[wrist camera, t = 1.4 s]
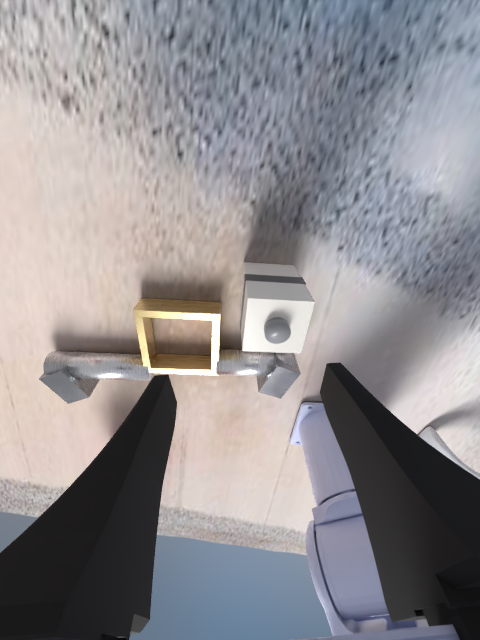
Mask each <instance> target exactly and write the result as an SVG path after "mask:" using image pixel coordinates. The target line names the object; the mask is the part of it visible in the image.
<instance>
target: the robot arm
mask: <svg viewBox="0 0 480 640" xmlns="http://www.w3.org/2000/svg"><path fill="white" fill-rule="evenodd" d="M320 394H321V398H322V401H323V403H312V402H304V403H302V404H301V406H300V410H299V413H298V416H297V419H296V422H295V425H294V428H293V431H292V434H291V438H290V443H291V444H293V445H302V449H303V453H304V457H305V461H306V465H307V469H308V473H309V477H310V481H311V486H312V490H313V494H314V498H315V502H316V506H317V507H315V508H312V511H313V516H314V520H313V521H310V522H309V525H308V529H307V532H306V551H307V557H308V563H309V568H310V572H311V576H312V579H313V583H314V586H315V589H316V592H317V594H318V597H319V600H320V602H321V604H322V606H323V607H324V610H325V613H326V616H327V619H328V622H329V625H330V628H331V632H332V635H333V636H326V637H315V638H305V639H294V640H480V479H478V478H477V477H475V476H474V475H472V474H471V473H469V472H468V471H466V470H465V469H463V468H462V467H461V466H459V465H458V464H456V463H455V462H453V461H452V460H451V459H449V458H448V457H446V456H445V455H443V454H442V453H441V452H439V451H438V450H436V449H435V448H434V447H432V446H431V445H430V444H428V443H427V442H426V441H425V440H423V439H422V438H421V437H419V436H418V435H417V434H416V433H414V432H413V431H412V430H411V429H409V428H408V427H407V426H406V425H405V424H404V423H402V422H401V421H400V420H399V419H398V418H397V417H395V416H394V415H393V414H392V413H391V412H390V411H389V410H388V409H387V408H385V407H384V406H383V405H382V404H381V403H380V402H379V401H378V400H377V399H376V398H375V397H374V396H373V395H372V394H371V393H370V392H369V391H368V390H367V389H366V388H365V387H364V386H363V385H362V384H361V383H360V382H359V381H358V380H357V379H356V378H355V377H354V376H353V375H352V374H351V373H350V372H349V371H348V370H347V369H346V368H345V367H344V366H343V365H342V364H341V363H328V364H327V365H326V369H325V374H324V378H323V382H322V386H321V390H320ZM176 408H177V401H176V398H175V395H174V391H173V388H172V385H171V382H170V379H169V375H157V376H154V377H153V378H152V380H151V381H150V383H149V385H148V386H147V388H146V389H145V391H144V393H143V394H142V396H141V397H140V399H139V400H138V402H137V403H136V405H135V406H134V408H133V409H132V411H131V412H130V414H129V415H128V416H127V418H126V419H125V421H124V422H123V423H122V425H121V426H120V427H119V429H118V430H117V431H116V433H115V434H114V435H113V437H112V438H111V439H110V441H109V442H108V443H107V445H106V446H105V447H104V448H103V450H102V451H101V452H100V453H99V454H98V456H97V457H96V458H95V459H94V460H93V461H92V463H91V464H90V465H89V466H88V467H87V468H86V469H85V471H84V472H83V473H82V474H81V475H80V476H79V477H78V478H77V479H76V480H75V481H74V483H73V484H72V485H71V486H70V487H69V488H68V489H67V490H66V491H65V492H64V493H63V494H62V495H61V496H60V497H59V498H58V499H57V500H56V501H55V502H54V503H53V504H52V505H51V506H50V507H49V508H48V509H47V510H46V511H45V512H44V513H43V514H42V515H41V516H40V517H39V518H38V519H37V520H36V521H35V522H34V523H33V524H32V525H31V526H30V527H28V528H27V529H26V530H25V531H24V532H23V533H22V534H21V535H20V536H19V537H18V538H17V539H16V540H14V541H13V542H12V543H11V544H10V545H9V546H7V548H5V549H4V550H3V551H2V552H1V553H0V640H129V637H130V634H133V633H140V632H141V631H142V630H143V628H144V627H145V626H146V624H147V623H148V621H149V620H150V607H151V593H152V579H153V567H154V556H155V545H156V536H157V526H158V517H159V508H160V500H161V492H162V485H163V480H164V474H165V470H166V465H167V460H168V456H169V451H170V446H171V441H172V437H173V432H174V427H175V419H176Z"/></svg>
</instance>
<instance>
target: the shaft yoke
mask: <svg viewBox="0 0 480 640" xmlns="http://www.w3.org/2000/svg"><path fill="white" fill-rule="evenodd" d="M133 312H134V317H135V322H136V328H137V333H138V339H139V344H140V349H141V354H116V353H90V352H79V351H75V352H65V351H53V352H51V353H49V354H48V356H47V357H46V359H45V362H44V374H43V375H42V376H41V377H40V378H39V379H40V380H41V381H42V382H43V383H44V384H46V385H47V386H48V387H49V388H50V389H51V390H53V391H54V392H55V393H56V394H57V395H59V396H60V397H61V398H62V399H63V400H64V401H66V402H67V403H68V404H69V403H72V402H75V401H78V400H82V399H85V398H88V397H90V395H91V393H92V392H93V390H94V388H95V387H96V385H97V383H98V382H99V380H100V379H115V380H146V381H151V380H152V378H153V376H154V373H168V374H197V375H231V376H257V381H258V390H259V392H260V393H264V394H267V395H271V396H274V397H278V398H282V396H283V395H284V394H285V393H286V391H287V390H288V389H289V388H290V386H291V385H292V384H293V383H294V381H295V380H296V379H297V378H298V376H299V375H300V371H299V367H298V364H297V361H296V358H295V355H294V353H276V352H251V351H242V350H226V349H219V343H220V317H221V302H208V301H189V300H170V299H152V298H141V299H140V301H139V302H138V304H137V305H136V307H135V308H134V310H133ZM151 318H172V319H193V320H212V356H204V355H178V354H156V348H155V341H154V334H153V327H152V320H151Z"/></svg>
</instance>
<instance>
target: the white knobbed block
mask: <svg viewBox="0 0 480 640" xmlns="http://www.w3.org/2000/svg"><path fill="white" fill-rule="evenodd" d="M305 284H306V283H305V281H304V280H303V278H302V277H300V275H299V273H298V271H297V270H296V268H295V266H294V265H280V264H265V263H249V262H244V265H243V277H242V288H241V300H240V317H241V318H240V330H241V337H242V351H251V352H276V353H300V354H301V352H302V348H303V344H304V341H305V337H306V333H307V330H308V326H309V322H310V319H311V315H312V311H313V308H314V304H315V301H314V299H313V297H312V296H311V294H310V292H309V290H308V289H307V287H306V285H305Z"/></svg>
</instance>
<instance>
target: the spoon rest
mask: <svg viewBox="0 0 480 640" xmlns="http://www.w3.org/2000/svg"><path fill="white" fill-rule="evenodd" d="M418 436H419V437H421V438H422V439H423V440H425V441H426V442H427V443H428V444H430V445H431V446H432V447H434V448H435V449H436V450H438V451H439V452H441V453H442V454H443V455H445V456H446V457H448V458H449V459H451V460H452V461H453V462H455V463H456V464H458V465H459V466H461V467H462V468H463V469H465V470H466V471H468V472H469V473H471V474H472V475H474V476H475V477H477V478H478V479H480V474H479V473H477V472H475V471H474V470H472V469H471V468H469V467H468V466H467V465H465V464H464V463H463V462H462V461H461V460H460V459H458V458H457V457H456V456H455V454H454V453H453V452H452V451H451V450H450V449H449V448H448V446H447V445H446V444H445V443H444V441H443V440H442V439H441V438H440V436H439V435H438V434H437V432H436V431H435V430H434V429H433V428H432V427H431V426H428V427H426V428H425V429H424V430H423V431H422V432H421V433H420V434H419V435H418Z"/></svg>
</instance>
